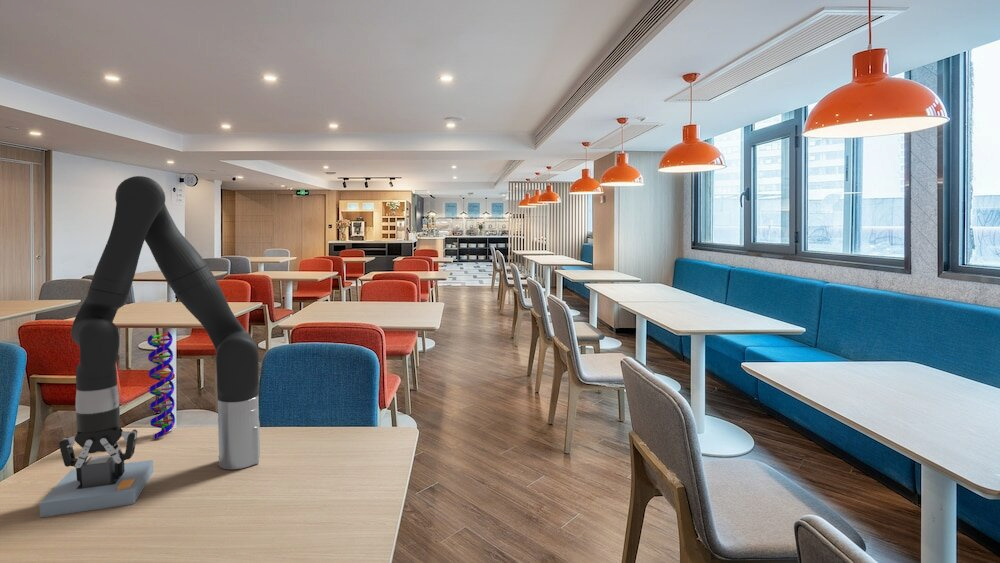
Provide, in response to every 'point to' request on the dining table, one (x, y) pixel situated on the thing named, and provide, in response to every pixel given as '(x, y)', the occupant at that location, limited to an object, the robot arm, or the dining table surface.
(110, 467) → the plug
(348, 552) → the dining table surface
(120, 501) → the socket plate
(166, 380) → the dna model
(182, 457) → the dining table surface
